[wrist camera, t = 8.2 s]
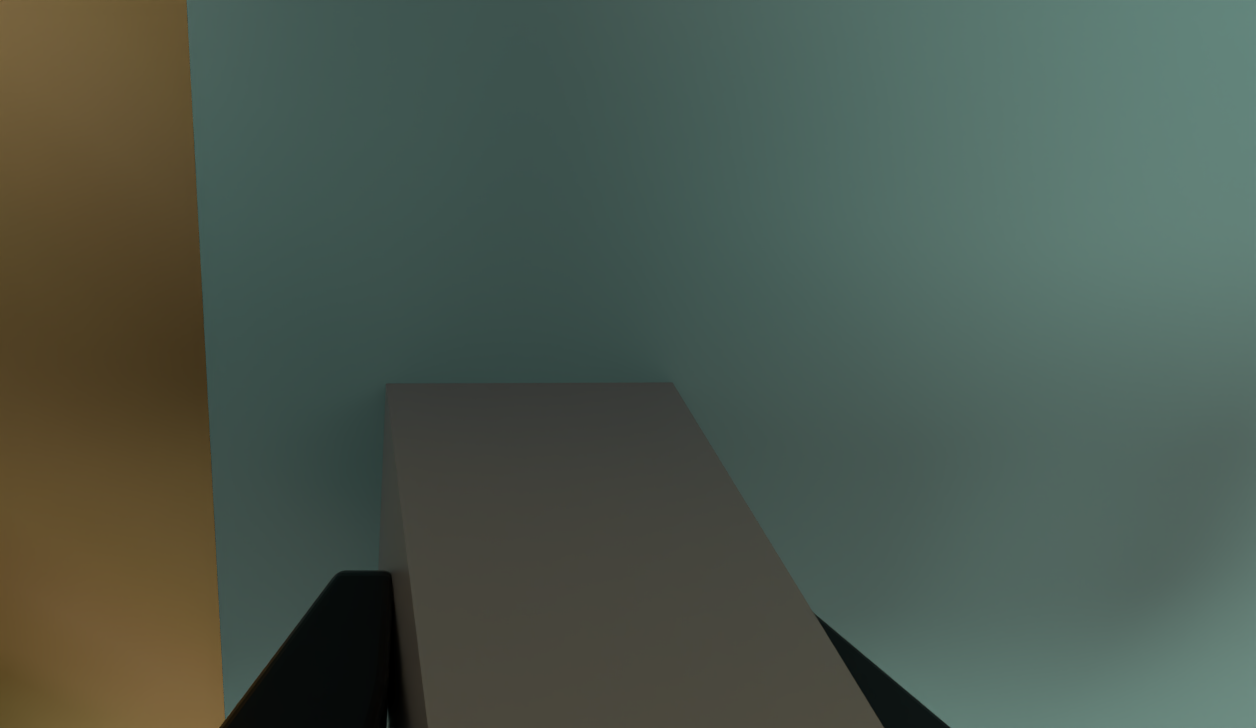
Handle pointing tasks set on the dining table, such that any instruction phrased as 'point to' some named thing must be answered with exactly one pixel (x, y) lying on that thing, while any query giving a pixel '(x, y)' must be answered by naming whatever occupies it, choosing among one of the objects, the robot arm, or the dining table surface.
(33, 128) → the dining table surface
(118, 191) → the dining table surface
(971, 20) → the lid
